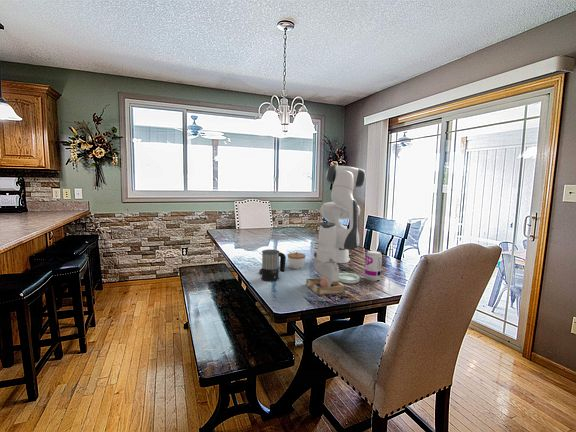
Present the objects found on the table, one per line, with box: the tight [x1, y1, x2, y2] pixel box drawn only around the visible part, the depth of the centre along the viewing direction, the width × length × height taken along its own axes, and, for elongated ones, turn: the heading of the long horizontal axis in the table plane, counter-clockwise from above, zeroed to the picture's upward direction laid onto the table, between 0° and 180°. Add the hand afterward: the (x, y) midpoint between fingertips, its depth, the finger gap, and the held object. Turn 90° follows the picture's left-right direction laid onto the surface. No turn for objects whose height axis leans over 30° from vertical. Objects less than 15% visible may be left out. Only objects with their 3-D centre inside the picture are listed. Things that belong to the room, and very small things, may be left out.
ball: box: [319, 277, 328, 288], centre depth 145 cm, size 5×5×5 cm
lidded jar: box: [287, 251, 306, 270], centre depth 179 cm, size 11×11×9 cm
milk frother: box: [258, 249, 286, 282], centre depth 159 cm, size 14×16×15 cm
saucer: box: [338, 272, 361, 285], centre depth 159 cm, size 12×12×2 cm
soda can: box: [364, 250, 383, 282], centre depth 161 cm, size 8×8×15 cm
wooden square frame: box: [305, 276, 346, 296], centre depth 145 cm, size 14×14×3 cm
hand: (325, 284), depth 145 cm, fingers open, 5 cm apart
